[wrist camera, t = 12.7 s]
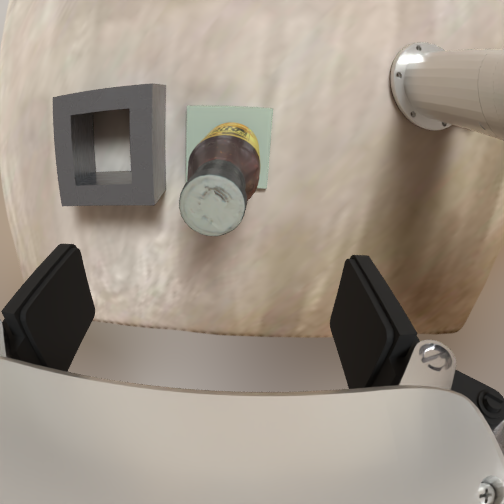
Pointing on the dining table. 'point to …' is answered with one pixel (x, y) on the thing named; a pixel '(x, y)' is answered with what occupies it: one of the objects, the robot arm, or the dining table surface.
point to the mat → (212, 116)
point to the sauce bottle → (220, 179)
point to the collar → (82, 146)
